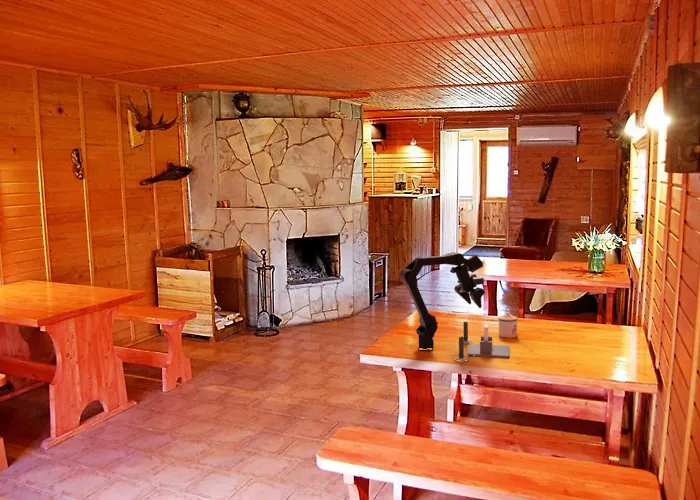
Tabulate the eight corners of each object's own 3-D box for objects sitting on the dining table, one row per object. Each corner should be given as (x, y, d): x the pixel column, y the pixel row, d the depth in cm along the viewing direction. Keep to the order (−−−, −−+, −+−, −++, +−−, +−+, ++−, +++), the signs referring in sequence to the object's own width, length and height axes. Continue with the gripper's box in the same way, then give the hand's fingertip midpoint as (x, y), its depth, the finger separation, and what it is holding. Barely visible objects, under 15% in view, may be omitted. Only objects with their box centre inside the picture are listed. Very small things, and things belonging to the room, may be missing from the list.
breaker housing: (467, 356, 255) (466, 342, 254) (469, 346, 270) (469, 333, 269) (509, 358, 250) (509, 344, 249) (509, 347, 265) (509, 335, 265)
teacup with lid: (515, 338, 280) (516, 315, 279) (496, 337, 284) (496, 314, 283) (519, 332, 291) (519, 310, 290) (500, 331, 295) (501, 308, 293)
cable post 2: (460, 344, 273) (459, 323, 272) (458, 340, 279) (458, 320, 278) (472, 344, 273) (472, 323, 272) (471, 340, 279) (471, 320, 278)
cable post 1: (454, 362, 247) (454, 339, 246) (453, 357, 253) (453, 335, 252) (469, 362, 246) (469, 339, 245) (467, 357, 252) (467, 335, 251)
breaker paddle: (484, 349, 257) (484, 327, 256) (484, 345, 263) (484, 324, 262) (487, 349, 257) (487, 327, 256) (488, 345, 263) (488, 324, 261)
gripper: (488, 272, 263) (500, 301, 266) (467, 266, 280) (478, 294, 284) (468, 283, 260) (480, 313, 264) (448, 277, 278) (460, 305, 281)
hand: (475, 305), depth 273 cm, fingers open, 9 cm apart
